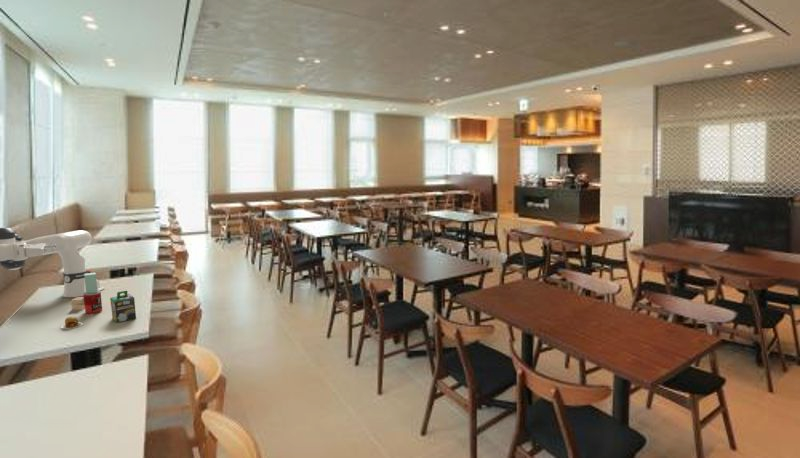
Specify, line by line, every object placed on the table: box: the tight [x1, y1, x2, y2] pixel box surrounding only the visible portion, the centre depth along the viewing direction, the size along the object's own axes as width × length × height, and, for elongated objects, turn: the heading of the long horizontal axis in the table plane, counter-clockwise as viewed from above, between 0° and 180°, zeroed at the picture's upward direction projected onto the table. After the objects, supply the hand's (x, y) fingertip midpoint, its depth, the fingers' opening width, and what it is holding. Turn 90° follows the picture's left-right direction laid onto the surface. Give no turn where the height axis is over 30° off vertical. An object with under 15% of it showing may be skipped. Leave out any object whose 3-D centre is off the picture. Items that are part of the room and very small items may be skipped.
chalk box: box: [109, 290, 137, 323], centre depth 234 cm, size 9×9×15 cm
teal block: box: [84, 272, 98, 294], centre depth 244 cm, size 5×5×10 cm
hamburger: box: [60, 316, 84, 330], centre depth 224 cm, size 12×12×6 cm
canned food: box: [83, 290, 103, 315], centre depth 245 cm, size 8×8×11 cm
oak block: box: [71, 296, 85, 311], centre depth 251 cm, size 5×5×6 cm
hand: (55, 247), depth 242 cm, fingers open, 8 cm apart
